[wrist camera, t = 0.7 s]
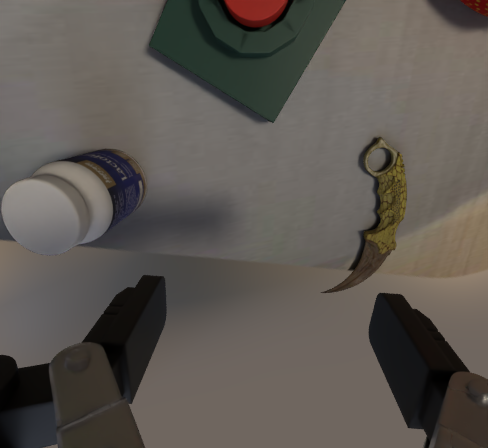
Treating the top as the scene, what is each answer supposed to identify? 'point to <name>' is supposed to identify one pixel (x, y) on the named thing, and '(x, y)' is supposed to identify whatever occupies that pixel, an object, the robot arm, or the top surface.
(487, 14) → the fruit
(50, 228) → the pill bottle
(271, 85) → the button block
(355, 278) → the knife
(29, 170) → the top surface
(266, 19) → the button
